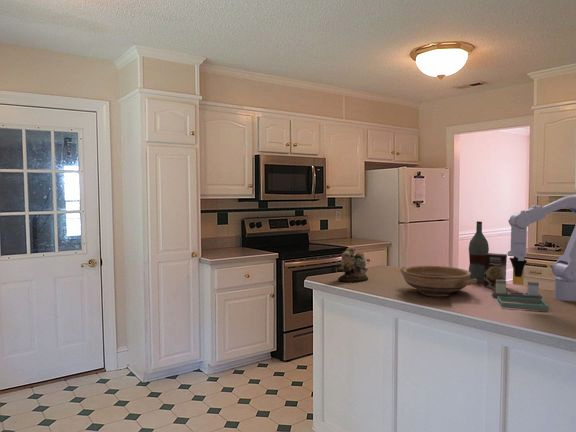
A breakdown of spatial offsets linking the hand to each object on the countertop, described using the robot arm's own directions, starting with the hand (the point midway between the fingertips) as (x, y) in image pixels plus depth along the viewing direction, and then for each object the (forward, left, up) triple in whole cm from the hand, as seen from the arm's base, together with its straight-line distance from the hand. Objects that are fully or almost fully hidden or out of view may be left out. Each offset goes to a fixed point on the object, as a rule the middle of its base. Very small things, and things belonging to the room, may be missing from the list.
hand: (517, 276), depth 188 cm
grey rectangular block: (-6, -1, -9) cm, 11 cm away
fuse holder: (0, -1, -10) cm, 10 cm away
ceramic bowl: (+31, -5, -11) cm, 34 cm away
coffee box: (+5, -23, -11) cm, 26 cm away
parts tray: (0, +10, -10) cm, 15 cm away
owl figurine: (+71, -24, -11) cm, 76 cm away
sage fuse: (+6, -1, -9) cm, 11 cm away
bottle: (+11, -37, -11) cm, 40 cm away
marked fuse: (0, 0, -3) cm, 3 cm away
